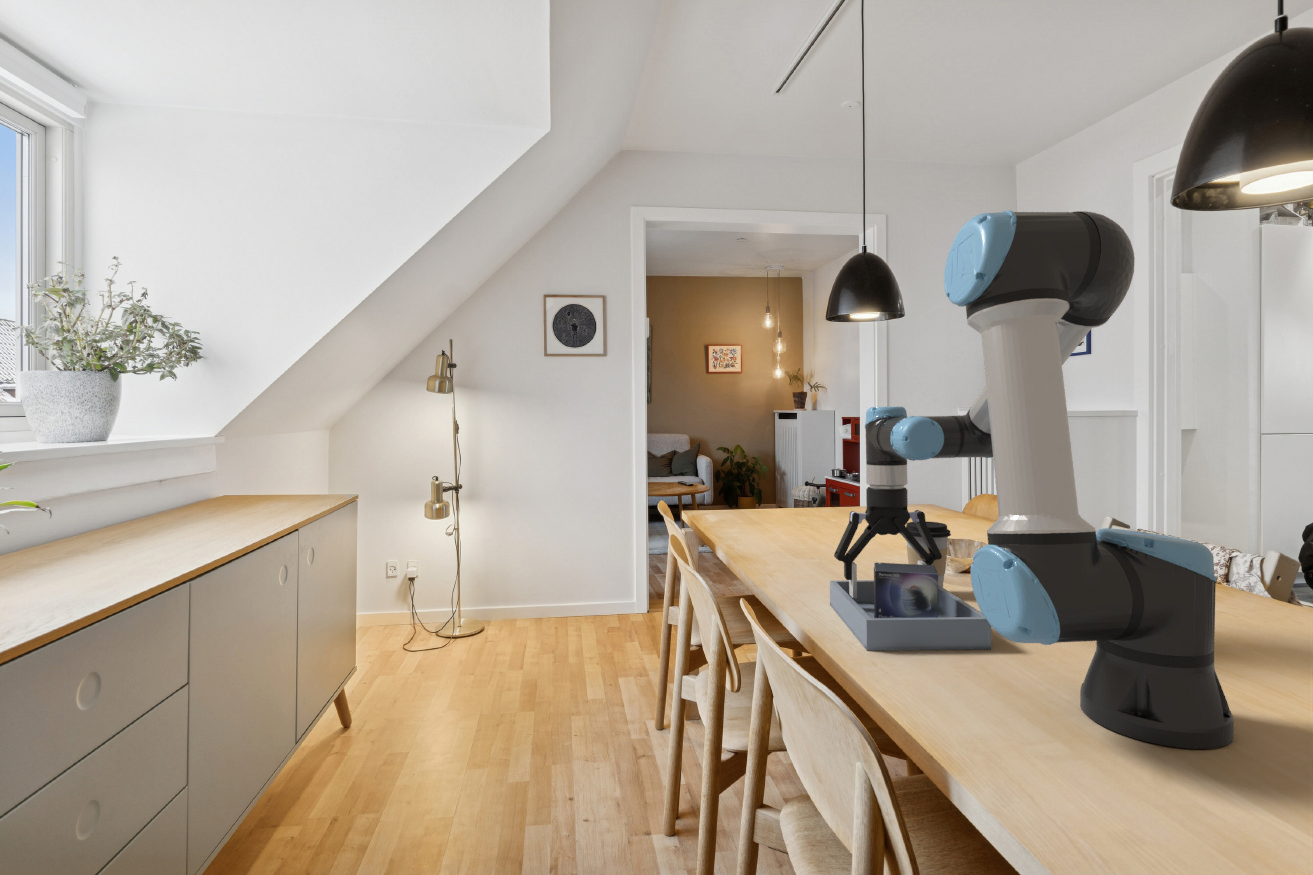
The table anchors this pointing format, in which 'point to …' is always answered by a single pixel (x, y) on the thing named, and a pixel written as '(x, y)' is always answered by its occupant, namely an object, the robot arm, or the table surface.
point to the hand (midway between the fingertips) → (887, 596)
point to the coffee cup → (940, 538)
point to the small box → (905, 591)
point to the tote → (910, 622)
